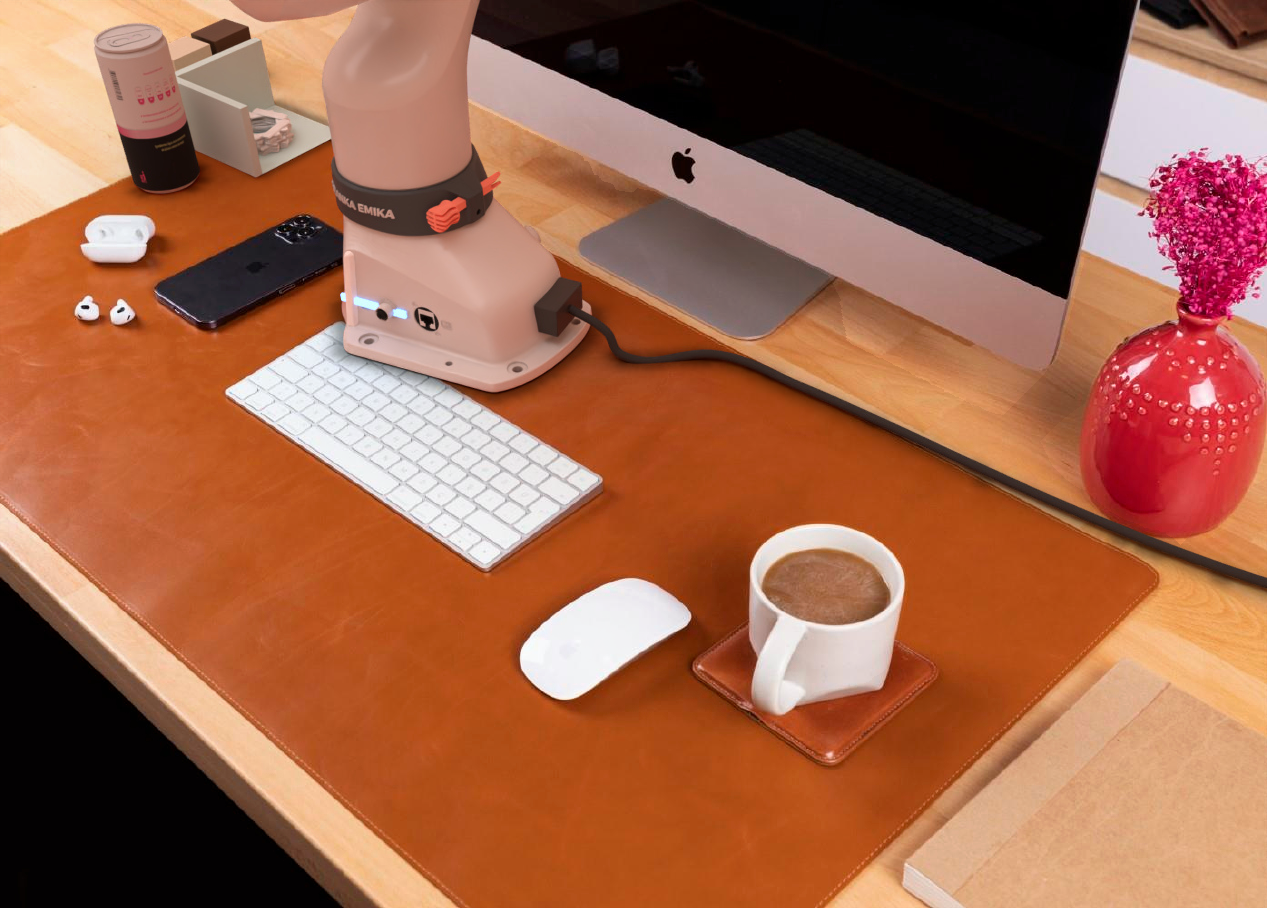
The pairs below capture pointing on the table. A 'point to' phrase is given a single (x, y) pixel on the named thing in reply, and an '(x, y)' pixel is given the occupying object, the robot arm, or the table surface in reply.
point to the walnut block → (222, 35)
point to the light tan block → (188, 52)
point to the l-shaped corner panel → (243, 112)
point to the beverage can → (147, 106)
